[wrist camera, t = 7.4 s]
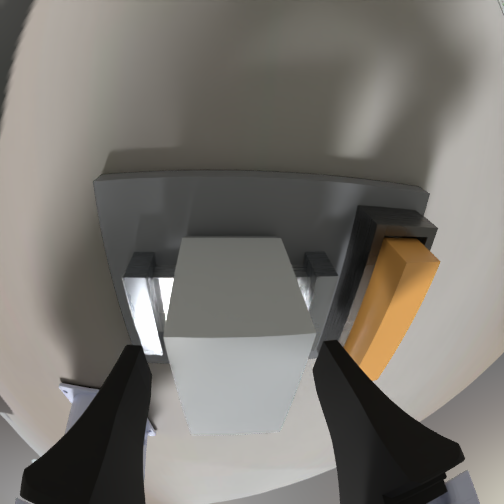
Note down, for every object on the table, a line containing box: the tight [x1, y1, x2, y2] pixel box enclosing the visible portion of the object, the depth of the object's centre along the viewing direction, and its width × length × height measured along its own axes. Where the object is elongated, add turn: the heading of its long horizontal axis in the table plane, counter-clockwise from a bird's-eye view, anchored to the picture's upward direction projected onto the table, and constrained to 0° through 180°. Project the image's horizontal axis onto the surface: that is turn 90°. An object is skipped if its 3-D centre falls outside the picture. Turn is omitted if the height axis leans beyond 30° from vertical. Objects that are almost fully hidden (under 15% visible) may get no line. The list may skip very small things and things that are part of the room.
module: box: [163, 236, 316, 435], centre depth 11 cm, size 7×4×6 cm, turn 176°
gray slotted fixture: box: [122, 205, 438, 355], centre depth 14 cm, size 10×14×2 cm
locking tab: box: [344, 238, 440, 381], centre depth 13 cm, size 8×2×2 cm, turn 176°
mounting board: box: [93, 170, 430, 364], centre depth 15 cm, size 12×16×1 cm
